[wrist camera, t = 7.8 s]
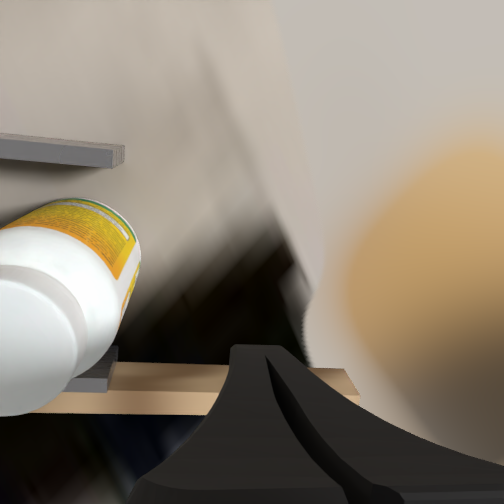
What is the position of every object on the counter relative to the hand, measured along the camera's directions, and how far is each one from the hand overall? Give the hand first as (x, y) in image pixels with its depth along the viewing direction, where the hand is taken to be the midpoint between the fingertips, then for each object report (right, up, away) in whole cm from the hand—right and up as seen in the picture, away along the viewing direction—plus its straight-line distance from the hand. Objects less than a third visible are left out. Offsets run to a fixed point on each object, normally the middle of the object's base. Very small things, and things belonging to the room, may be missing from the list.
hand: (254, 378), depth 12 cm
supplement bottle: (-8, +3, +9) cm, 13 cm away
